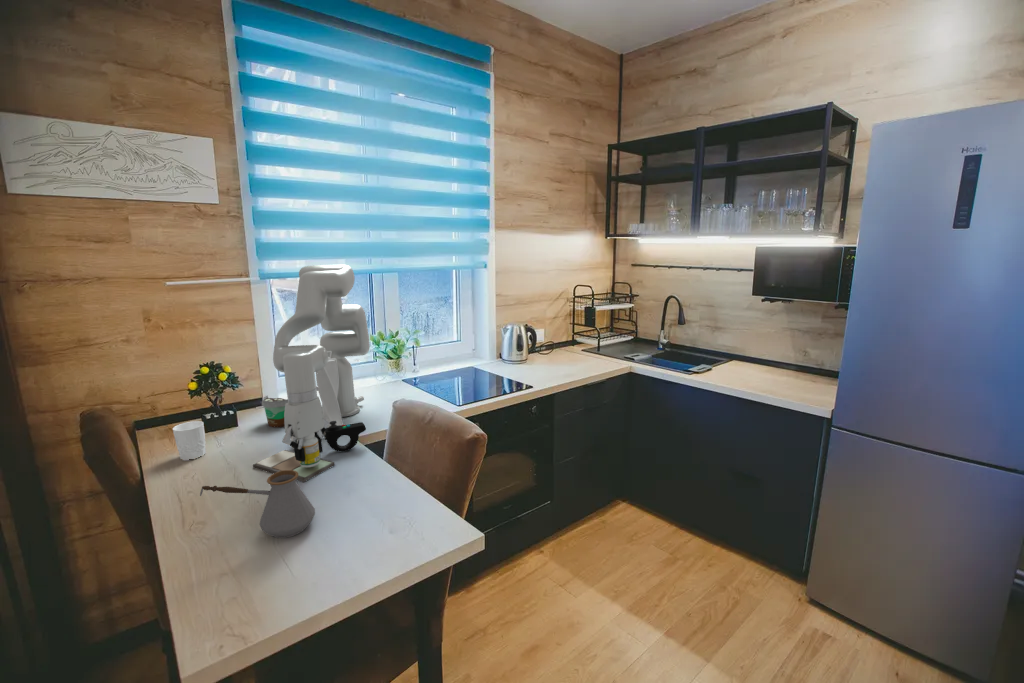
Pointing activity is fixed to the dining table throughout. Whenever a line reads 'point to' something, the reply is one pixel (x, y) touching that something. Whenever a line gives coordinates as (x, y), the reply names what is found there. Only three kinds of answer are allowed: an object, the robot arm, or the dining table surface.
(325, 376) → the skyscraper
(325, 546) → the dining table surface
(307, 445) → the supplement bottle
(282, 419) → the food container
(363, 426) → the controller
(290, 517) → the coffee pot
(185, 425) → the white cup
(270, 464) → the game strip
